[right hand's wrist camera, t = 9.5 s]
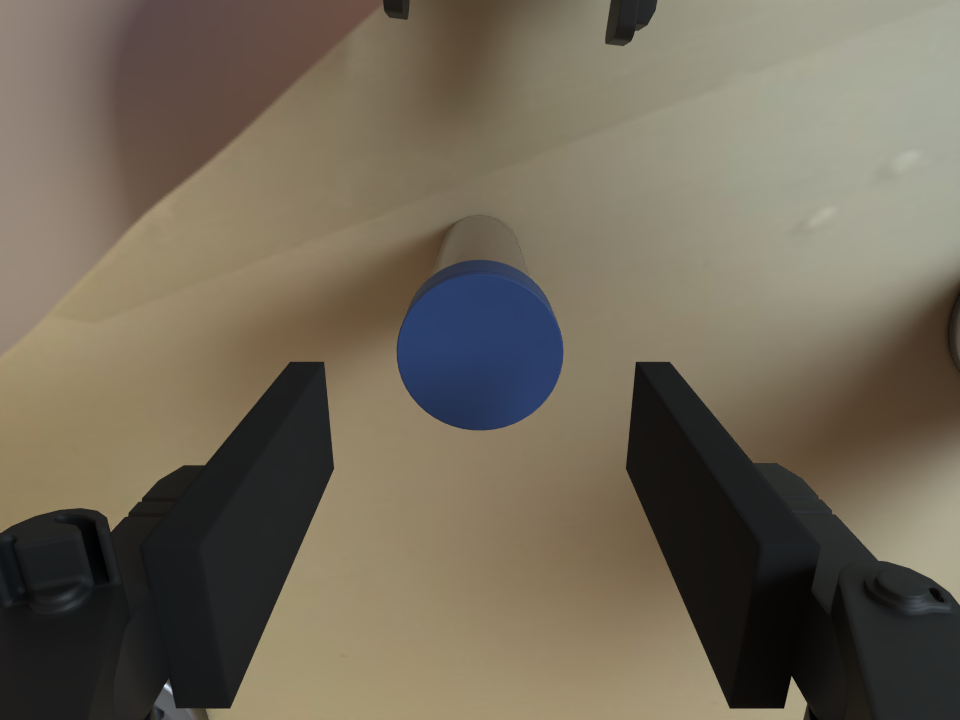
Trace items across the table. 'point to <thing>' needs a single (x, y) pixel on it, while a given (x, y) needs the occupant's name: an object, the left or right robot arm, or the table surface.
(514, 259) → the bottle
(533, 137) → the table surface
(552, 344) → the lid
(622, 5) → the left robot arm
